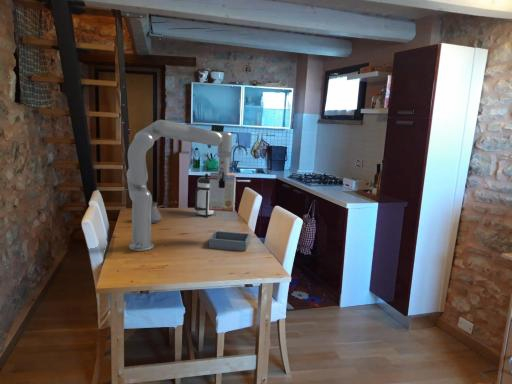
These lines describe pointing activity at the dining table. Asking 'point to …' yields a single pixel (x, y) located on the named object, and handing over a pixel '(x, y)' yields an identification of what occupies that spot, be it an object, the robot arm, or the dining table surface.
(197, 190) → the coffee press
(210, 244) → the tray
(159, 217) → the coffee pot
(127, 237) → the dining table surface
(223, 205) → the cracker box
